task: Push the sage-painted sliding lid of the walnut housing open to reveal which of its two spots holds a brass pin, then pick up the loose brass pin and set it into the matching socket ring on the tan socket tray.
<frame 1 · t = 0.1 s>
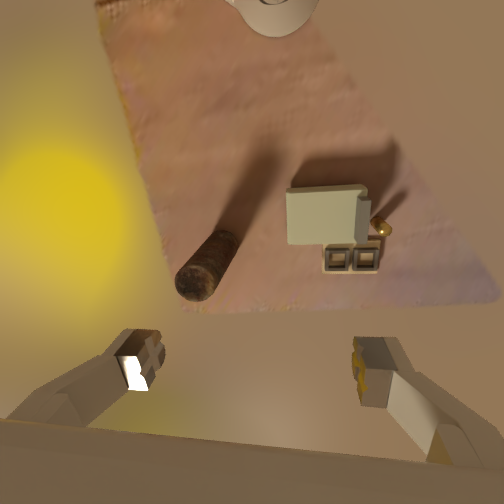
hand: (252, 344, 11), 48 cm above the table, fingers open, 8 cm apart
tan socket tray: (349, 256, 59), on the table
lid: (324, 217, 51), point 6 cm above the table, slide at 0.0 cm
pin: (376, 221, 55), on the table
brown wooden log: (223, 242, 62), on the table
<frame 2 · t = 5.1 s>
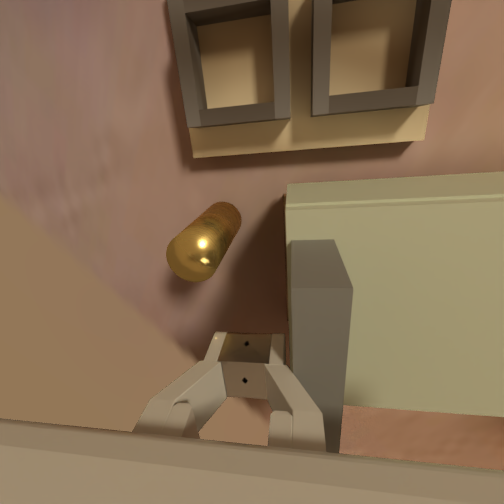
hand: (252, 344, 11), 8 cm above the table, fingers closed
tan socket tray: (299, 63, 13), on the table
lid: (457, 314, 11), point 6 cm above the table, slide at 0.3 cm, touching gripper
pin: (223, 219, 17), on the table
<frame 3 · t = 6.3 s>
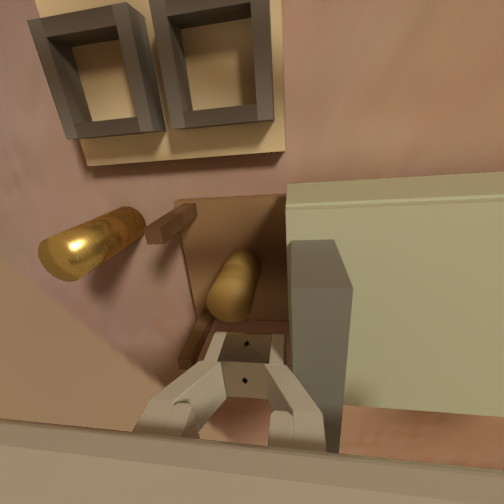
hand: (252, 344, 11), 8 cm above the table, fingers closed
tan socket tray: (173, 80, 14), on the table
lid: (457, 314, 11), point 6 cm above the table, slide at 7.1 cm, touching gripper
pin: (129, 223, 18), on the table
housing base: (288, 260, 18), on the table
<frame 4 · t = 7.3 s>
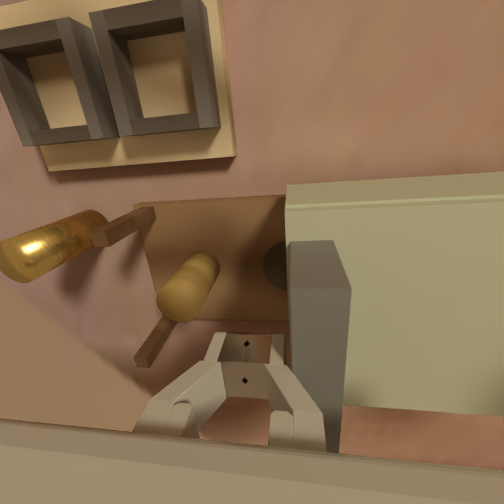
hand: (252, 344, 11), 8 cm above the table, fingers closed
tan socket tray: (126, 89, 15), on the table
lid: (456, 314, 11), point 6 cm above the table, slide at 9.9 cm, touching gripper
pin: (94, 225, 19), on the table
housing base: (247, 261, 18), on the table
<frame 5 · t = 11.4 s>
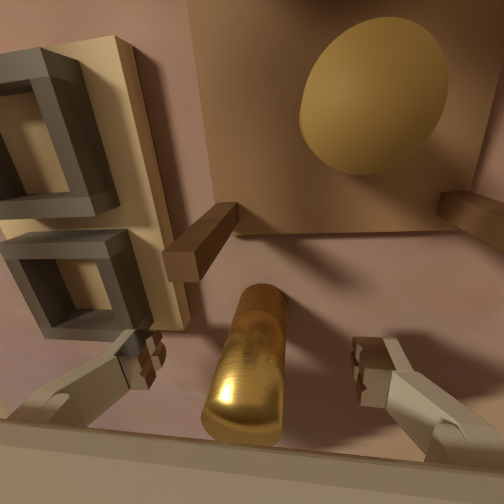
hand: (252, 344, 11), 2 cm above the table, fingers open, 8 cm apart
tan socket tray: (89, 213, 12), on the table
pin: (263, 304, 13), on the table
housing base: (336, 11, 8), on the table
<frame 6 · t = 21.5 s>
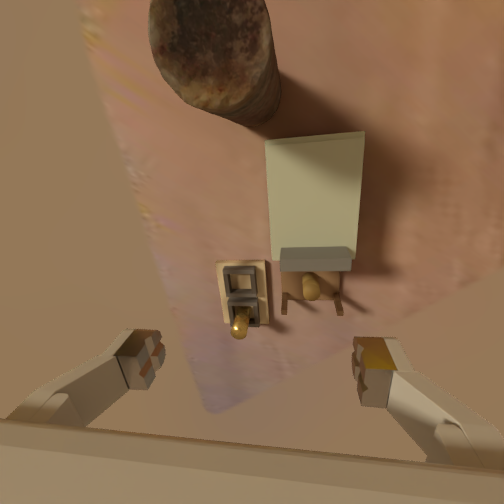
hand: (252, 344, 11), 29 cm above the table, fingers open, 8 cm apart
tan socket tray: (244, 291, 45), on the table
lid: (312, 202, 31), point 6 cm above the table, slide at 10.0 cm
pin: (244, 309, 45), point 1 cm above the table, touching tan socket tray
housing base: (309, 259, 40), on the table
brown wooden log: (253, 94, 33), on the table
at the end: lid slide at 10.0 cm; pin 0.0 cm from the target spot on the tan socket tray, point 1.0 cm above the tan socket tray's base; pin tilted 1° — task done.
